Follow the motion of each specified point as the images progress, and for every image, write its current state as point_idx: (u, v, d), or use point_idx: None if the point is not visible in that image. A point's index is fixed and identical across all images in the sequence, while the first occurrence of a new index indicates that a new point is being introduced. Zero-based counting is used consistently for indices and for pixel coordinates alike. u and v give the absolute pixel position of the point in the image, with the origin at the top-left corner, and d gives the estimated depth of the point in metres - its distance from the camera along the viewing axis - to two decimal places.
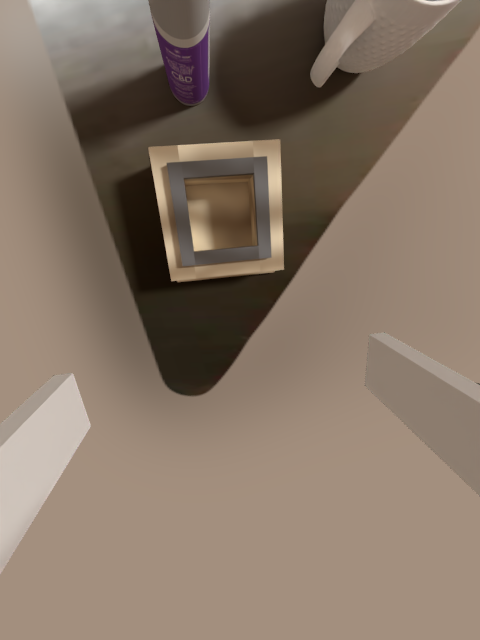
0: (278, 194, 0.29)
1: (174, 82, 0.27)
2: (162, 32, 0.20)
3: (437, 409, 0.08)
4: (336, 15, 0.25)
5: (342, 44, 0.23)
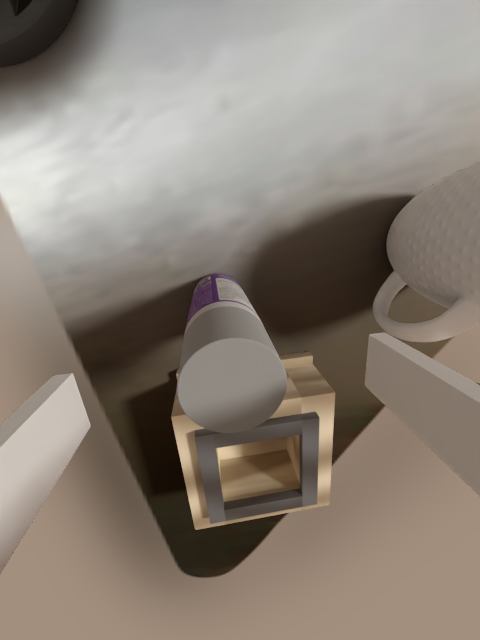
0: (328, 441, 0.24)
1: None
2: None
3: (437, 409, 0.08)
4: (418, 272, 0.19)
5: (433, 339, 0.17)
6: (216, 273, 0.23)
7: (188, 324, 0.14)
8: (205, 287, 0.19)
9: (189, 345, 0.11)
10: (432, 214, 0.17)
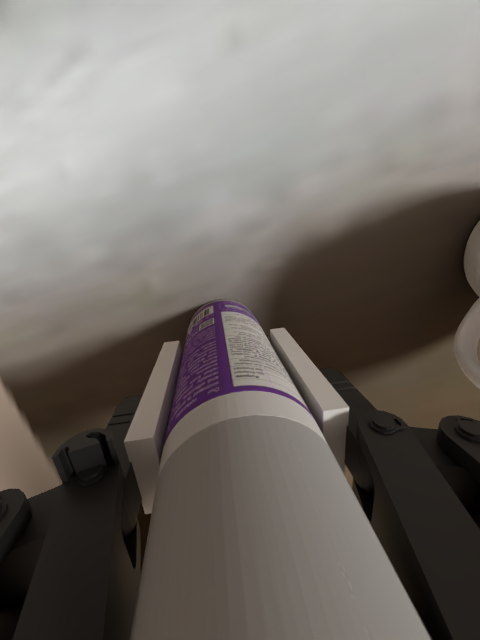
0: None
1: None
2: None
3: None
4: None
5: None
6: (221, 300, 0.16)
7: (168, 443, 0.06)
8: (205, 332, 0.11)
9: (152, 621, 0.03)
10: None
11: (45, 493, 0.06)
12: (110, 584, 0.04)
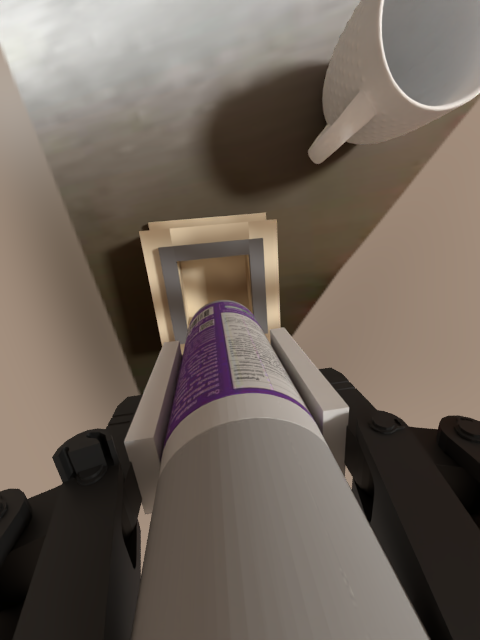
0: (275, 271, 0.28)
1: None
2: None
3: None
4: (335, 99, 0.24)
5: (341, 137, 0.22)
6: (221, 301, 0.16)
7: (168, 446, 0.06)
8: (205, 334, 0.11)
9: (152, 627, 0.03)
10: (340, 40, 0.22)
11: (45, 493, 0.06)
12: (110, 584, 0.04)
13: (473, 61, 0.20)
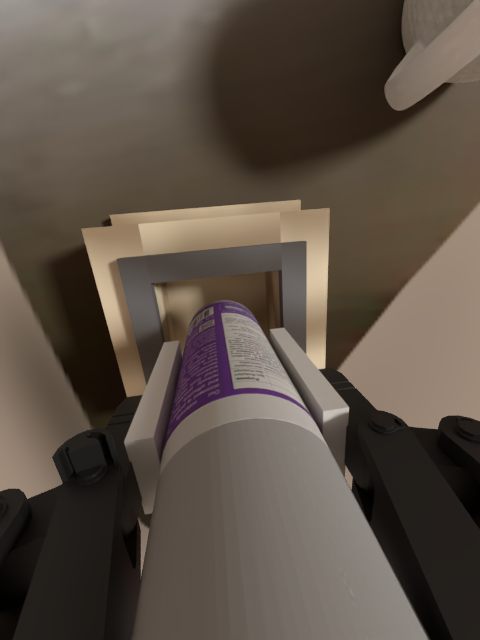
0: (321, 297, 0.17)
1: None
2: None
3: None
4: None
5: None
6: (221, 301, 0.16)
7: (168, 446, 0.06)
8: (205, 334, 0.11)
9: (152, 627, 0.03)
10: None
11: (45, 493, 0.06)
12: (110, 584, 0.04)
13: None
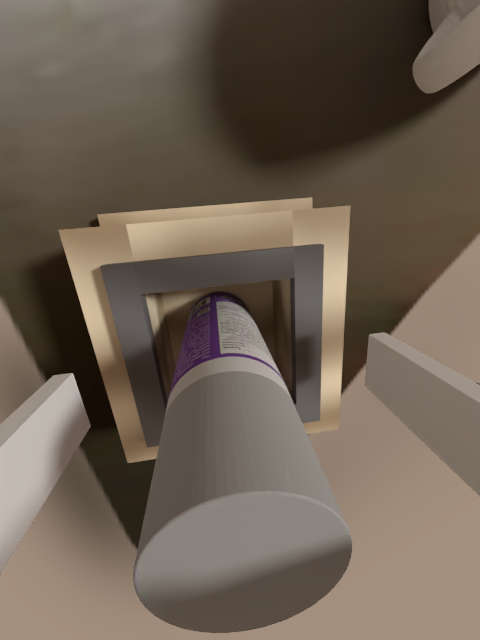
0: (338, 309, 0.15)
1: None
2: None
3: (437, 409, 0.08)
4: None
5: None
6: (217, 292, 0.18)
7: (172, 394, 0.09)
8: (202, 318, 0.14)
9: (163, 473, 0.06)
10: None
11: None
12: None
13: None
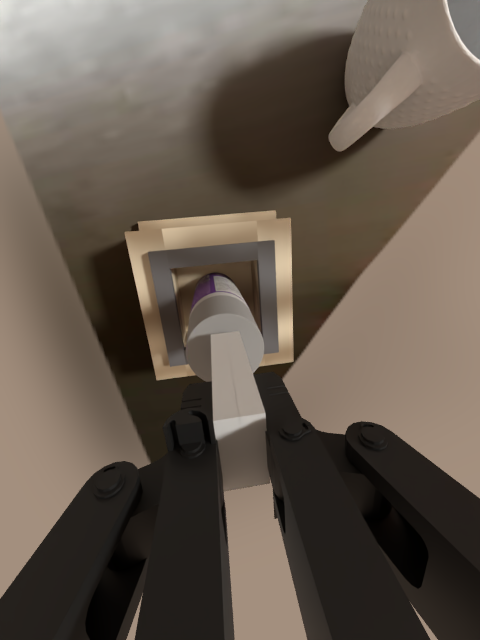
0: (287, 280, 0.24)
1: None
2: None
3: None
4: (365, 69, 0.19)
5: (376, 114, 0.17)
6: (214, 272, 0.27)
7: (192, 310, 0.18)
8: (205, 283, 0.23)
9: (194, 321, 0.15)
10: None
11: (146, 467, 0.07)
12: None
13: None
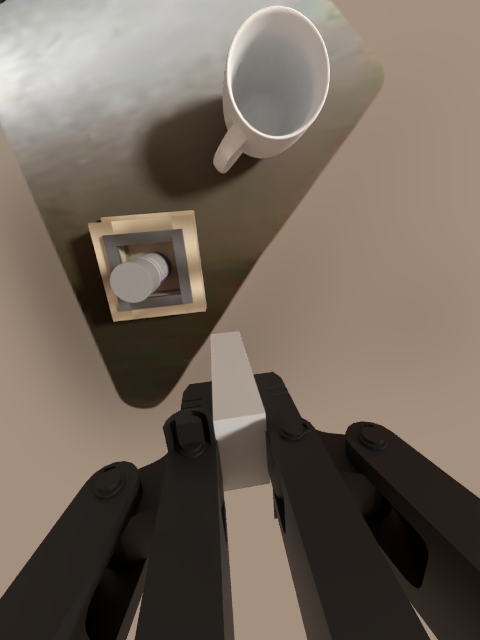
0: (195, 254, 0.37)
1: None
2: None
3: None
4: (227, 127, 0.32)
5: (225, 155, 0.31)
6: None
7: None
8: None
9: None
10: None
11: (146, 467, 0.07)
12: None
13: (312, 103, 0.29)
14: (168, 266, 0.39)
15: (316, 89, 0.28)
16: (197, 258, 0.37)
